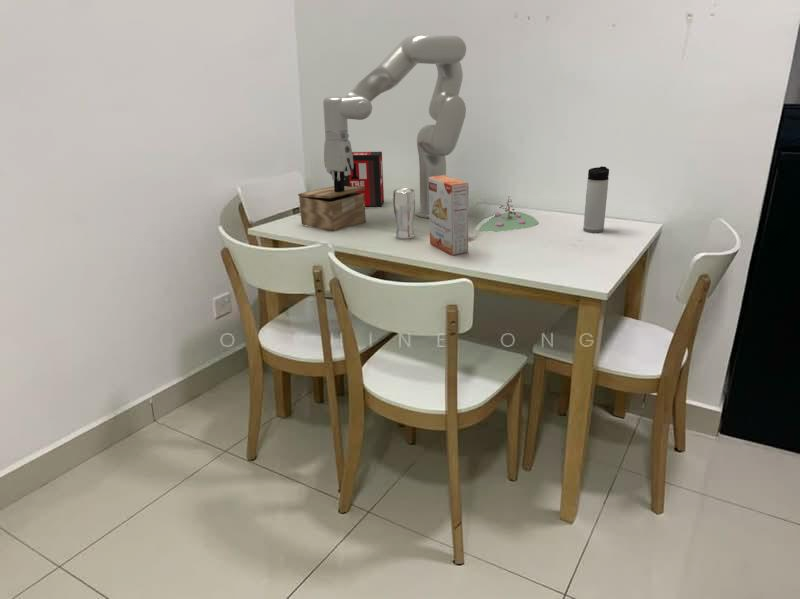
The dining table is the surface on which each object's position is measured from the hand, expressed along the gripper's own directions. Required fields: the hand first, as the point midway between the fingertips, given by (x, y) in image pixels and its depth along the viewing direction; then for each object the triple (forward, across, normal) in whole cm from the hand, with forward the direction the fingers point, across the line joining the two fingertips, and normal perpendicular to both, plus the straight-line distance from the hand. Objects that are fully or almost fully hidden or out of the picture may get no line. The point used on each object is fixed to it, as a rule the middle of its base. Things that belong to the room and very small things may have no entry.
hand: (339, 191), depth 207 cm
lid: (+1, +5, -1) cm, 5 cm away
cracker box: (+12, -46, -1) cm, 48 cm away
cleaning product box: (+12, +16, -26) cm, 33 cm away
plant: (+12, -44, -35) cm, 58 cm away
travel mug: (+11, -72, -44) cm, 85 cm away
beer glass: (+12, -27, -3) cm, 30 cm away
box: (+12, +5, -1) cm, 13 cm away
